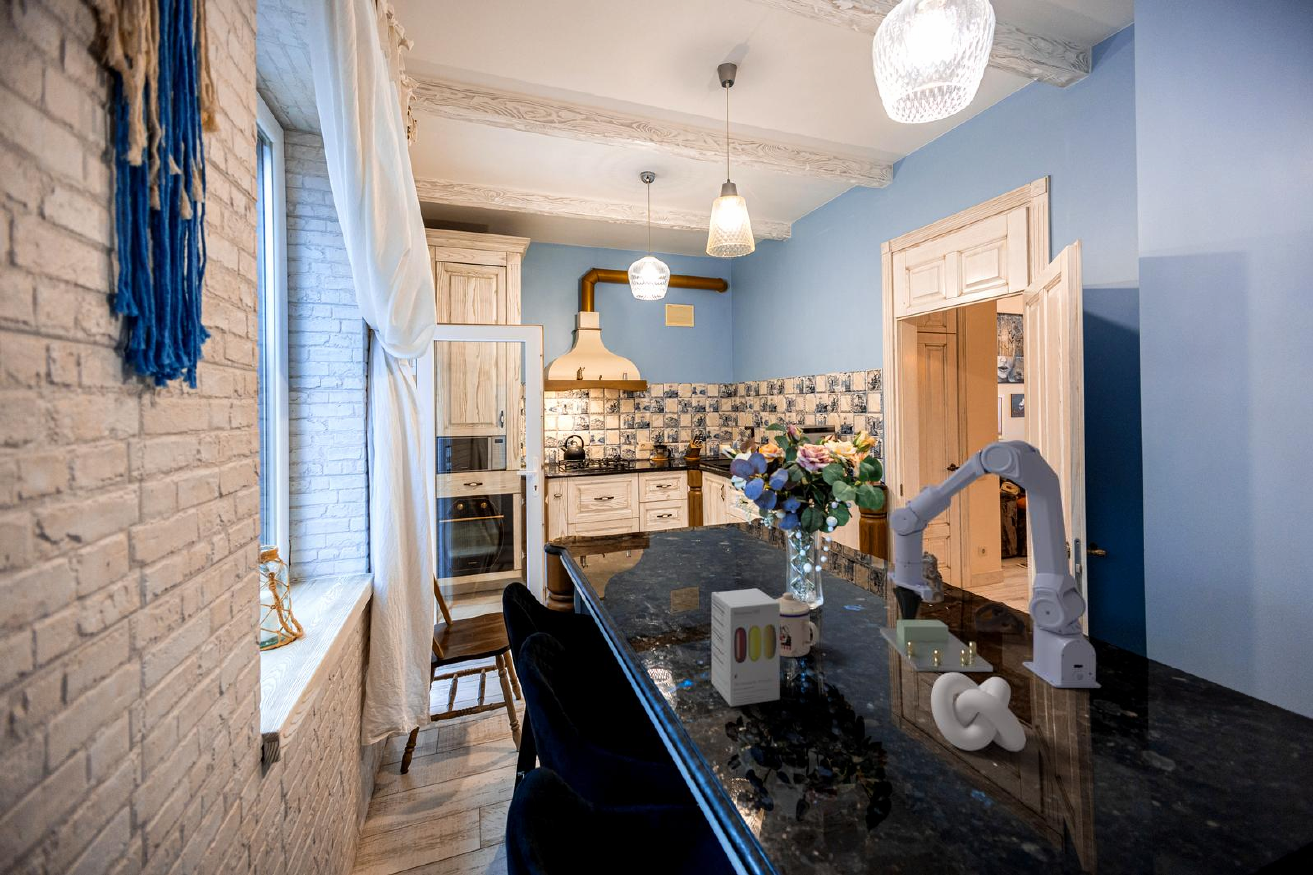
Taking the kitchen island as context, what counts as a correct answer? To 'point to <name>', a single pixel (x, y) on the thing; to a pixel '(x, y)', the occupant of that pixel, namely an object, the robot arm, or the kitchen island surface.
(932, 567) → the figurine
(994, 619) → the pottery mug
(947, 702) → the white decorative knot
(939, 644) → the chassis
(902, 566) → the robot arm
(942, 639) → the pale green block
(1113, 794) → the kitchen island surface
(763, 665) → the supplement box
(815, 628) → the teacup with lid
